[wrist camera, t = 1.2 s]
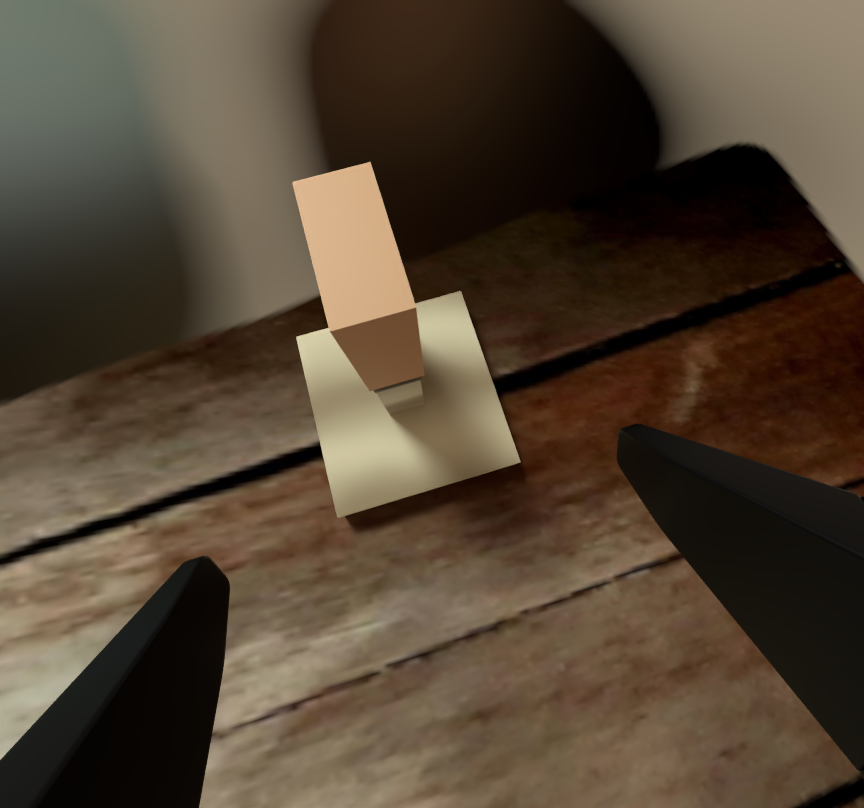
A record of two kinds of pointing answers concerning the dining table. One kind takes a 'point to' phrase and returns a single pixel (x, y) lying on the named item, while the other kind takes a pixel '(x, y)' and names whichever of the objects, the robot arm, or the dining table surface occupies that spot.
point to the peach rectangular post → (361, 275)
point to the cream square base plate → (407, 414)
